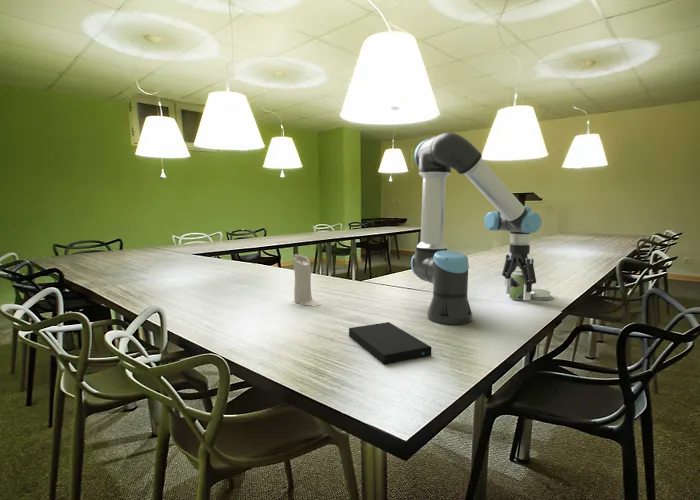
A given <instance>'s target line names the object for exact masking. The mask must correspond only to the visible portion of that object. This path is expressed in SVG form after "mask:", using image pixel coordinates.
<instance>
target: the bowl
mask: <svg viewBox="0 0 700 500" xmlns="http://www.w3.org/2000/svg"><path fill="white" fill-rule="evenodd" d="M551 300H553V296H552V295H551V292H550V291H549V290H546V289H541V288H532V291H531V295H530V301H541V302H543V301H545V302H546V301H551Z"/></svg>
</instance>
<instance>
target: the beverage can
mask: <svg viewBox="0 0 700 500" xmlns="http://www.w3.org/2000/svg"><path fill="white" fill-rule="evenodd" d="M524 284H525V280H524V277H523V274H522V271H521V270H515V271H513V272H512V274H511V279H510V294H508V295H509V296H508V297H510V299H512V300H513V301H518V302H519V301H523V296H524Z"/></svg>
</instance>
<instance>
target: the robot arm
mask: <svg viewBox="0 0 700 500" xmlns="http://www.w3.org/2000/svg"><path fill="white" fill-rule="evenodd" d="M413 157H414V158H413V159H414V162H415V164H416V165H417V167H418V174H419V176H420V177H421V179H422V190H421V191H422V193H421V194H422V196H421V220H420V223H421V224H420V241H419V242H418V244H417V245H416V246H415V247H416V248H415V253H414V254H413V255H412V257H411V259H410V267H411V271H412V273H413V274H414V275H415V276H416V277H417V278H419V280H422V281H423V282H426V283H427V282H428V283H431V284H432V285H433V286H432V288H433V291H432V294H433V295H432V299H431V302H430V304H429V308H428V309H427V318H428V319H429V320H430V321H432V322H434V323H438V324H443V325H457V326H458V325H466V324H468V323H471V322H472V321H473V313H472V309H471V306H470V303H469V298H468V291H469V290H468V286H469V285H468V284H469V283H468V282H469V281H468V280H469V269H470V266H469V259H468V256H467V255H466V254H465V253H462V252H460V251H454V250H448V246H447V245H446V244H445V243H444V242H445V241H444V239H445V238H444V237H445V236H444V234H445V219H446V218H445V214H446V213H445V212H446V192H447V191H446V190H447V178H449V176H451V174H452V169H454V170H455V172H456V173H458V174H459V175H462V176H463V175H464V176H465V177H466V178H467V179H468V181H469V182H471V184H472V185H473V186H474V187H475V188H476V189H477V190H478V191H479V192H480V193H481V194H482V195H483V196H484V198H485V199H486V200H487V201H488V202H489V203H490V204H491V205H492V206H493V207H494V208H495V209H496V210H497V211H495V210H494V211H488V213H486V214H485V216H484V226H485V229H486V230H488V231H494V232H496V231H504V232H510V234H509V236H510V237H509V242H510V245H509V253H510V254H506V255H505V263H504V265H503V266H504V267H503V269H502V273H501V276H502V277H504V278H505V283H504V285H505V295H510V279H511V274H512V272H513V271H516V269H517V267H518V268H519V269H520V271H522V274H523V277H524V280H525V284H524V296H523V300H524V301H531V299H530V295H531V291H532V289H533V288H532V287H533V285H534V284H537V278H536V273H535V271H536V270H535V267H534V262H535V261H534V260H535V259H534V258H529V257H528V255H529V254H530V252H531V251H530V250H531V245H530V243H531V234H534V233H537V232H538V231H539V230H540V228H541V227H542V218H541V215H540V214H538V213H536V212H533V211H532V207H530V206H529V205H526V206H524V205H523V203H521V202H520V201H519V200H518V198H517V197H516V196H515V194H514V193H513V192H511V190H510V189H509V188H508V187H507V186H506V185H505V183H504V182H503V181H502V180H501V179H500V178H499V176H498V175H496V174H495V172H493V170H492V169H491V168H490V166H488V164H487V163H486V162H485V161H484V160H483V159H482V158H483V154H482V152H480V151H479V150H478V148H476V146H475V145H473V144H472V142H470V141H469V140H468V139H467V138H466V137H464V136H462V135H460V134H458V133H456V132H455V133H454V132H447V131H446V132H443V133H440V134H438V135H434V136H429V137H427V138H426V139H424V140H423V141H421V142H420V143H419V144H418V145H417V146H416V148H415V151H414V156H413ZM523 300H522V301H523Z"/></svg>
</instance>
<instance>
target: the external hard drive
mask: <svg viewBox="0 0 700 500" xmlns="http://www.w3.org/2000/svg"><path fill="white" fill-rule="evenodd" d="M348 337H349V338H350V339H352V340H353V341H354V342H355V343H356V344H358V345H359V346H360V347H361V348H363V349H364V350H365V351H366V352H368V353H369V354H370V355H372V356H373V357H374V358H375V359H376V360H377V361H379V362H380V363H381V364H382V365H384V366H387V365H392V364H397V363H402V362H408V361H412V360H418V359H421V358H428V357H431V356H432V346H430V345H429V344H427V343H425V342H424V341H422V340H421V339H418V338H417V337H415V336H413V335H411V334H410V333H408V332H407V331H405V330H403V329H401V328H400V327H398V326H396V325H394V324H392V322H390V321H388V322H381V323H374V324H373V323H372V324H367V325H360V326H354V327H349V328H348Z"/></svg>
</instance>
